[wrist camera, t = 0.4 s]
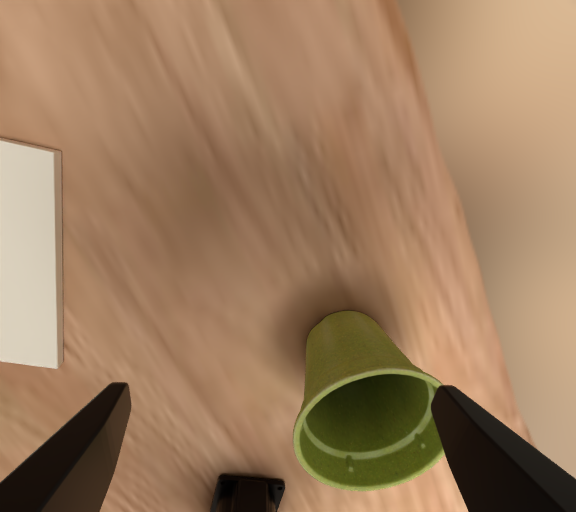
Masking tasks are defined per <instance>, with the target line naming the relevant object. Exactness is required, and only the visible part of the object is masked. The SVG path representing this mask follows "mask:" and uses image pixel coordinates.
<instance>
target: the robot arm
mask: <svg viewBox="0 0 576 512" xmlns="http://www.w3.org/2000/svg"><path fill="white" fill-rule="evenodd" d="M130 411H131V398H130V391H129V385H128V383H125V382H113V383H111V384H109V385H108V386H107V387H106V388H105V389H104V390H102V391H101V392H100V393H99V394H98V395H97V396H96V397H95V398H94V399H92V400H91V401H90V402H89V403H88V404H87V405H86V406H85V407H84V408H82V409H81V410H80V411H79V412H78V413H77V414H76V415H75V416H74V417H72V418H71V419H70V420H69V421H68V422H67V423H66V424H65V425H64V426H62V427H61V428H60V429H59V430H58V431H57V432H56V433H55V434H54V435H52V436H51V437H50V438H49V439H48V440H47V441H46V442H45V443H44V444H42V445H41V446H40V447H39V448H38V449H37V450H36V451H35V452H34V453H32V454H31V455H30V456H29V457H28V458H27V459H26V460H25V461H24V462H22V463H21V464H20V465H19V466H18V467H17V468H16V469H15V470H14V471H12V472H11V473H10V474H9V475H8V476H7V477H6V478H5V479H4V480H2V481H1V482H0V512H99V511H100V509H101V506H102V504H103V501H104V498H105V496H106V493H107V490H108V488H109V485H110V483H111V480H112V477H113V474H114V471H115V468H116V464H117V461H118V457H119V453H120V449H121V446H122V442H123V438H124V434H125V431H126V427H127V423H128V419H129V416H130ZM431 413H432V416H433V419H434V422H435V425H436V428H437V431H438V434H439V437H440V440H441V443H442V447H443V450H444V453H445V456H446V458H447V461H448V464H449V467H450V469H451V471H452V474H453V476H454V478H455V481H456V483H457V485H458V488H459V490H460V492H461V495H462V497H463V499H464V502H465V504H466V506H467V509H468V511H469V512H576V479H575V478H574V477H572V476H571V475H569V474H568V473H567V472H566V471H564V470H563V469H562V468H561V467H559V466H558V465H557V464H555V463H554V462H552V461H551V460H550V459H549V458H547V457H546V456H545V455H543V454H542V453H541V452H540V451H538V450H537V449H536V448H534V447H533V446H532V445H531V444H529V443H528V442H527V441H525V440H524V439H523V438H521V437H520V436H519V435H517V434H516V433H515V432H513V431H512V430H511V429H510V428H508V427H507V426H506V425H504V424H503V423H502V422H500V421H499V420H498V419H496V418H495V417H494V416H493V415H491V414H490V413H489V412H487V411H486V410H485V409H483V408H482V407H481V406H479V405H478V404H477V403H476V402H474V401H473V400H472V399H470V398H469V397H468V396H466V395H465V394H464V393H462V392H461V391H460V390H459V389H457V388H456V387H454V386H452V385H440V386H439V387H438V388H437V390H436V393H435V395H434V397H433V400H432V402H431ZM284 490H285V483H284V482H283V481H278V480H268V479H258V478H248V477H238V476H227V475H221V476H219V477H218V481H217V485H216V489H215V493H214V497H213V501H212V505H211V510H210V512H277V510H278V507H279V504H280V501H281V498H282V496H283V493H284Z"/></svg>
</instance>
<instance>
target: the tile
mask: <svg viewBox="0 0 576 512" xmlns="http://www.w3.org/2000/svg"><path fill="white" fill-rule="evenodd" d="M0 361H2V362H10V363H17V364H24V365H32V366H39V367H47V368H54V369H58V368H59V366H60V365H61V364H62V363H63V263H62V154H61V151H58V150H54V149H50V148H45V147H41V146H36V145H32V144H27V143H23V142H18V141H14V140H10V139H5V138H1V137H0Z"/></svg>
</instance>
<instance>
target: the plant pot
mask: <svg viewBox="0 0 576 512" xmlns="http://www.w3.org/2000/svg"><path fill="white" fill-rule="evenodd" d="M440 385H443V384H442V383H441V382H440V381H439V380H437V379H436V378H434V377H433V376H431V375H429V374H427V373H425V372H423V371H422V370H421V369H419V368H418V367H416V366H415V365H413V364H412V363H411V362H410V361H409V359H408V358H407V357H406V356H405V355H404V354H403V353H402V352H401V351H400V350H399V348H398V347H397V346H396V345H395V344H394V343H393V342H392V340H391V339H390V338H389V337H388V336H387V334H386V333H385V332H384V331H383V330H382V329H381V327H380V326H379V325H378V324H377V323H376V322H375V321H374V320H373V319H371V318H370V317H369V316H367V315H365V314H363V313H360V312H356V311H340V312H336V313H333V314H330V315H328V316H326V317H325V318H324V319H323V320H322V321H321V322H320V323H319V324H318V325H316V326H315V327H314V328H313V329H312V330H311V331H310V333H309V335H308V338H307V342H306V373H305V392H304V401H303V403H302V407H301V411H300V412H299V414H298V416H297V419H296V422H295V425H294V430H293V445H294V451H295V455H296V457H297V459H298V461H299V463H300V464H301V466H302V467H303V468H304V470H305V471H306V472H307V473H309V474H310V475H311V476H312V477H313V478H315V479H317V480H318V481H320V482H322V483H324V484H326V485H329V486H331V487H335V488H339V489H343V490H350V491H373V490H380V489H386V488H390V487H393V486H396V485H399V484H402V483H405V482H408V481H410V480H412V479H414V478H416V477H418V476H420V475H421V474H423V473H424V472H426V471H427V470H429V469H430V468H432V467H433V466H434V465H435V464H436V463H437V462H438V461H439V460H440V459H441V458H442V456H444V454H445V453H444V450H443V447H442V443H441V440H440V437H439V434H438V431H437V428H436V425H435V422H434V419H433V416H432V413H431V402H432V400H433V397H434V395H435V393H436V390H437V388H438V387H439V386H440Z"/></svg>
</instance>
